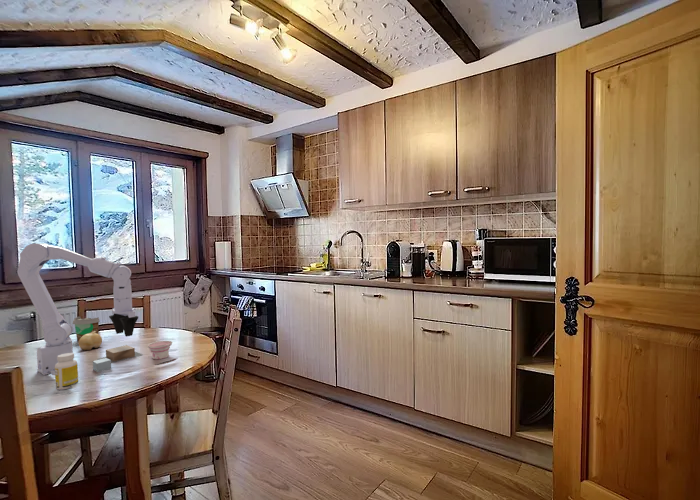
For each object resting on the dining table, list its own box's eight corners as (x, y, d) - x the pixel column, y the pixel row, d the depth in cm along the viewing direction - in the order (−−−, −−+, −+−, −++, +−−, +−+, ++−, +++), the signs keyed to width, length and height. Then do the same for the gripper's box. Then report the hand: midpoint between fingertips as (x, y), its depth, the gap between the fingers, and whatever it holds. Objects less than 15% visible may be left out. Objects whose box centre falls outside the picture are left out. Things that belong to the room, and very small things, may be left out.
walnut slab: (113, 361, 129) (113, 353, 129) (106, 357, 133) (105, 349, 133) (134, 355, 135) (134, 348, 135) (126, 352, 139) (126, 345, 139)
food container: (66, 341, 161) (65, 319, 161) (80, 337, 167) (79, 316, 167) (87, 343, 158) (86, 320, 158) (100, 339, 164) (99, 317, 163)
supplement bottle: (82, 382, 112) (81, 351, 112) (69, 390, 107) (68, 357, 107) (64, 383, 112) (63, 352, 112) (51, 390, 107) (49, 358, 107)
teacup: (185, 356, 137) (184, 340, 136) (161, 367, 125) (160, 349, 125) (159, 354, 140) (158, 338, 140) (133, 365, 128) (132, 347, 128)
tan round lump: (100, 349, 147) (99, 332, 147) (76, 352, 144) (75, 335, 144) (103, 344, 155) (103, 328, 154) (81, 347, 151) (80, 330, 151)
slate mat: (107, 367, 126) (107, 364, 126) (96, 361, 132) (96, 359, 132) (143, 357, 136) (143, 354, 136) (132, 352, 142) (132, 350, 142)
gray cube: (97, 375, 119) (97, 363, 118) (93, 373, 121) (92, 361, 121) (111, 371, 122) (110, 360, 122) (106, 369, 124) (106, 357, 124)
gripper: (143, 298, 133) (144, 334, 134) (125, 295, 142) (127, 329, 142) (122, 301, 127) (123, 339, 128) (105, 297, 136) (106, 333, 136)
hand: (124, 334), depth 135 cm, fingers open, 7 cm apart
